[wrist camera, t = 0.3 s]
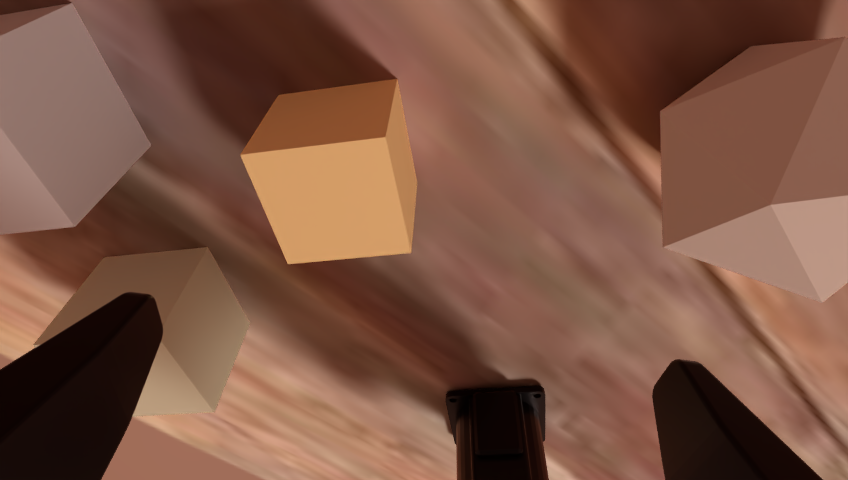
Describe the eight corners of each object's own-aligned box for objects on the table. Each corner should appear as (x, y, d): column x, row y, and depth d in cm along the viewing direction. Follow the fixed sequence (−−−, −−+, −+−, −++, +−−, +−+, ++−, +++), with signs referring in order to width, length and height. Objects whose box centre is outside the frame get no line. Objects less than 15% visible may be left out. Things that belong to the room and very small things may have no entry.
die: (586, 87, 21) (628, 322, 18) (821, -83, 13) (944, 278, 11) (712, 115, 24) (762, 314, 22) (953, -5, 17) (1066, 277, 14)
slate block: (152, 144, 22) (75, 226, 18) (33, 159, 23) (-71, 242, 18) (73, 2, 19) (-51, 59, 14) (-66, 25, 19) (-228, 87, 15)
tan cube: (250, 321, 30) (214, 412, 25) (158, 329, 31) (106, 418, 26) (208, 245, 26) (156, 335, 21) (104, 256, 27) (33, 345, 22)
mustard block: (417, 182, 23) (411, 252, 19) (313, 193, 24) (287, 264, 20) (397, 77, 20) (385, 137, 16) (278, 94, 21) (240, 154, 17)
